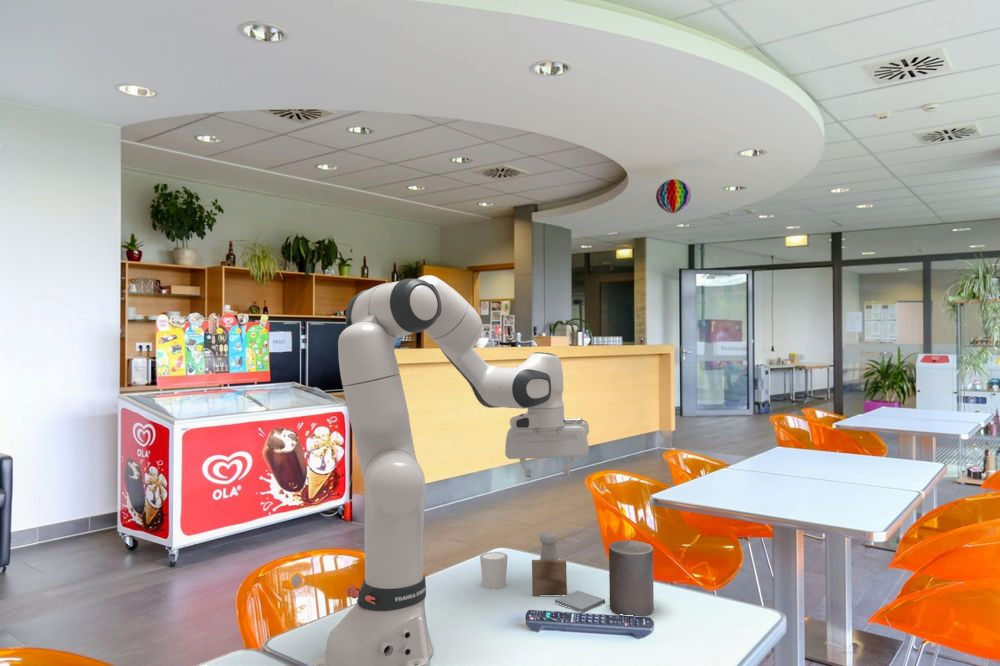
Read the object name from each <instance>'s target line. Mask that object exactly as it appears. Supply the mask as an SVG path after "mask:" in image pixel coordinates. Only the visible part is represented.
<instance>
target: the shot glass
mask: <svg viewBox="0 0 1000 666" xmlns="http://www.w3.org/2000/svg"><path fill="white" fill-rule="evenodd" d="M479 558H480V559H479V560H480V568H481V569H480V570H481V579H482V586H483V587H484V588H487V589H492V590H493V588H495V589H501V588H504V587H505V586H506V585H507V570H508V554H506V553H503V552H501V551H500V552H498V551H494V552H493V551H491V552H485V553H482V554H481V555H479Z"/></svg>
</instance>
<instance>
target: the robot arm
mask: <svg viewBox="0 0 1000 666" xmlns="http://www.w3.org/2000/svg"><path fill="white" fill-rule="evenodd" d="M482 331H483V320H482V318H481V317H480V315H479V313H478V312H477V311H476V309H475V308H474V307H473V306H472V305H471V304H470V303H469V302H468V301H467V300H466V299H465V298H464V297H463V296H462V294H460V293H459V292H458V291H456V289H454V288H453V287H451V286H450V285H449V284H447V283H446V282H445V281H443V280H442V279H441V278H439V277H437V276H435V275H431V274H429V275H422V276H420V277H418V278H405V279H402V280H399V281H393V282H386V283H381V284H378V285H376V286H373V287H371V288H369V289H365V290H362V291H360V292H359V293H357V294H356V295H354V296H353V297H352V298H351V299H350V301H349V302H348V304H347V306H346V310H345V328H344V329H343V331H341V333H340V334H339V336H338V340H337V344H338V345H337V348H338V350H337V351H338V363H339V365H338V367H339V373H340V379H341V385H342V389H343V395H344V398H345V399H344V400H345V403H346V407H347V413H348V416H349V421H350V426H351V431H352V435H353V441H354V443H355V449H356V452H357V456H358V461H359V466H360V470H361V476H362V481H363V488H364V537H363V538H364V540H363V541H364V579H363V581H362V583H361V588H359V587H356V586H355V585H353V584H352V585H348V587H347V588H346V591H345V593H346V596H348V597H350V598H352V599H356V604H355V605H354V606H353V607H352V608H351V609H350V610H349V612H348V613H347V614H346V615H345V616H344V617H343V618H342V619H341V620H340V621H339V622H338V623H337V624H336V625H335V627H334V628H333V629H331V630H330V632H329V635H328V636H327V642H326V645H325V647H326V648H325V655H322V656H321V657H319V658H316V659H315V660H314V661H313V663H312V666H430V661H429V660H430V658H431V657H432V656H433V654H434V647H433V644H432V640H431V637H430V632H429V628H428V624H427V623H428V622H427V616H426V605H425V599H426V596H427V585H426V583H427V582H426V576H425V575H424V544H423V543H424V542H423V541H424V540H423V538H424V535H423V534H424V533H423V532H424V522H425V501H426V499H425V498H426V495H425V494H426V493H425V492H426V478H425V474H424V471H423V469H422V467H421V466H420V464H419V461H418V459H417V457H416V451H415V446H414V445H415V444H414V440H413V434H412V429H411V428H412V427H411V422H410V414H409V408H408V405H407V399H406V396H405V395H406V394H405V391H404V386H403V382H402V376H401V371H400V367H399V364H398V360H397V357H396V353H395V346H396V341H397V339H399V338H403V337H406V336H410V335H412V334H417V333H421V332H424V333H426V335H428V336H429V338H430V339H432V340H433V341H434V342H435V343H436V345H438V346H439V348H440V350H441V352H442V353H443V355H444V357H446V359H447V360H448V361H449V362H450V363H451V365H452V366H453V367H454V368H455V369H456V370H457V372H459V374H461V376H462V377H463V378H464V379H465V380H466V382H468V384H469V386H470V387H471V389H472V392H473V394H474V395H475V398H476V399H477V402H479V404H481V405H482V406H483V407H485V408H491V409H493V408H494V409H495V408H506V409H507V408H508V409H524V410H525V409H527V412H524V413H520V414H518V415H515V416H512V417H511V418H510V419H509V426H510V427H509V428H508V430H507V433H506V436H505V447H504V448H505V449H504V454H505V456H506V458H507V459H509V460H518V459H519V463H520V466H521V467H522V468H523V470H524V478H532V469H531V468H527V466H526V465H525V464H526V463H527V459H553V458H554V459H557V458H558V459H559V458H561V459H562V458H564V459H565V458H566V459H567V461H568V464H567V465H566V467H563V468H562V471H563V472H562V473H563V474H562V475H563V477H571V468H572V467H573V465H574V463H575V458H586V457H587V456H588V455H589V453H590V451H589V450H590V449H589V441H588V435H589V432H590V426H589V423H588V421H586V420H584V419H583V418H565V405H564V401H563V393H564V374H563V365H562V361H561V359H560V357H559V356H558V355H556V354H554V353H549V352H543V351H542V352H540V351H539V352H530V353H529V355H528V358H527V359H526V360H525V361H523V362H522V363H521V364H519V365H516V366H515V367H507V366H505V367H503V366H501V367H500V366H494V365H491V364H490V363H487V362H486V361H485V360H484V359H483V358H482V356H481V355H480V354H479V353H478V351H477V350H476V349H475V348H474V347H475V346H476V345H477V343H478V341H479V340H480V338H481V336H482Z"/></svg>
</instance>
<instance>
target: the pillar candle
mask: <svg viewBox="0 0 1000 666" xmlns="http://www.w3.org/2000/svg"><path fill="white" fill-rule="evenodd" d="M608 569H609V571H608V572H609V573H608V575H609V576H608V577H609V582H608V583H609V599H608V600H609V610H610V611H611V612H613V613H614V614H615V615H618V614H623V615H633V616H643V617H646V616H651V614H652V613H653V611H654V607H655V606H654V605H655V604H654V603H655V602H654V601H655V600H654V598H655V597H654V595H655V594H654V547H653V546H652V544H649V543H646V542H643V541H638V540H631V539H630V540H620V541H619V540H618V541H614V542H611V543H610V544H609V546H608Z"/></svg>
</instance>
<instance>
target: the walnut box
mask: <svg viewBox="0 0 1000 666" xmlns="http://www.w3.org/2000/svg"><path fill="white" fill-rule="evenodd" d="M531 574H532V575H531V579H532V580H531V584H532V585H531V586H532V588H531V589H532V590H531V591H532V597H541V596H540V595H568V586H567V585H568V582H567V581H568V580H567V559H558V560H540V559H532V560H531Z"/></svg>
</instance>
